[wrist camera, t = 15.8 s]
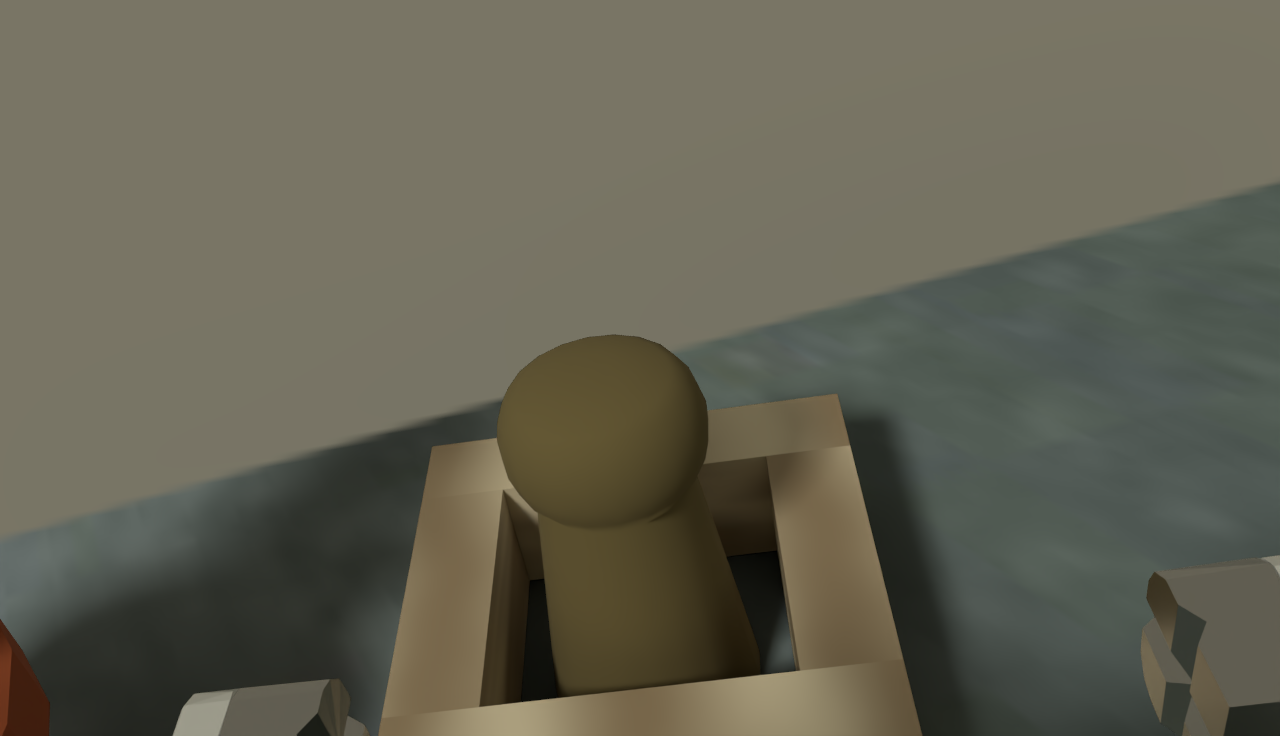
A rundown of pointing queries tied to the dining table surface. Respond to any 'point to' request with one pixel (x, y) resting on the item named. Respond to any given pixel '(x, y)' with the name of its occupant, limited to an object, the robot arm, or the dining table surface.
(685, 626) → the cork
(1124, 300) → the dining table surface
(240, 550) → the dining table surface
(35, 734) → the potted plant
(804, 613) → the socket block
